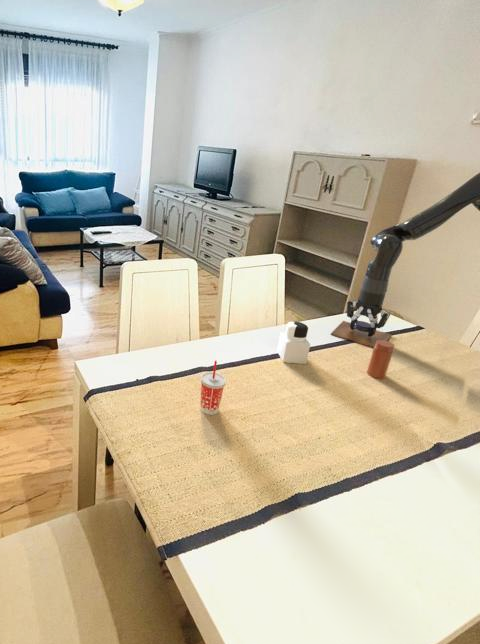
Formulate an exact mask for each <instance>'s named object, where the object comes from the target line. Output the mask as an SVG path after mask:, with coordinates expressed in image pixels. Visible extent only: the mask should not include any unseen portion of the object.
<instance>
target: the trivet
mask: <svg viewBox="0 0 480 644" xmlns="http://www.w3.org/2000/svg"><path fill="white" fill-rule="evenodd" d="M350 324H351V322H349V321H346V320H342V321H341V323H339V324H338V325H337V327H336V328H335V329H333V330H332V332H331V333H330V335H331V336H333V337H337V338H340V339H343V340H346V341H349V342H353V343H356V344H358V345H362V346H365V347H369V348H372V349H374V346H375V344H376V341H377V340H385V341H388V340H389V339H390V337H391V333H387V332H384V331H381V330H377V329H376V332H375V334H374V335H373V336H371V337H369V336H368V332H363V331H359V330H357V329H355V330H351V328H350Z"/></svg>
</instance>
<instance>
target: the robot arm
mask: <svg viewBox="0 0 480 644" xmlns="http://www.w3.org/2000/svg"><path fill="white" fill-rule="evenodd" d="M469 205H472V206H473V207H474V208H475V209H476V210H478V212H480V172H478V173H477V174H475V175H474V176H472V177H471V178H470V179H468V180H467V181H466V182H464V183H463V184H462V185H460V186H459V187H457V188H456V189H455V190H453V191H452V192H450V193H449V194H447V195H446V196H444V197H443V198H442V199H440V200H439V201H438V202H435V203H434V204H432V205H431V206H429V207H428V208H426V209H424V210H422V211H420V212H418V213H416V214H415V215H413V216H411V217H410V218H408V219H406V220H405V221H403V222H400V223H397V224H395V225H392V226H389V227H387V228H384V229H382V230H380V231H378V232H377V233H375V234H374V235H373V236H372V237H371V239H370V247H371V248H372V250H374V251H375V252H377V253H376V256H375V258H374V259H371V260H370V261H369V262H368V263H367V267H366V271H365V275H364V278H363V280H362V283H361V286H360V290H359V294H358V296H357V300H356V301H355V300H353V299H352V300H349V301H347V303H346V304H347V305H346V317H347V318H350V323H351V324H350V328H351V330H355V328H354V323H355V321H359V320H358V319H359V318H360V317H361V316H364V317H366V318H368V321H369V322H370V324H371V327H370V329H369V332H368V336H369V337H371V336H373V335H374V334H375V332H376V330H377V329H381V328H383V327H385V325H386V324H387V322H388V320H389V318H390V317H391V312H390V311H389V312H387V311H385V310H383V304H384V300H385V298H386V294H387V291H388V286H389V282H390V281H389V280H390V277H391V274H392V271H393V268H394V265H396V262H397V261H398V260H399V258H400V256H401V254H402V251H403V248H404V242H405V241H416V240H418V239H420V238H423V237H424V236H426V235H428V234H431V232H433V231H435V230H437V229H438V228H440V227H441V226H443V225H444V224H445V223H447V222H448V221H449V220H451V219H452V218H453V217H454V216H455V215H457V214H458V213H459V212H461V211H462V210H463V209H465V208H466V207H468V206H469ZM355 307H356V309H357V310H356V311H355ZM379 314H380V319H379V318H378V315H379ZM378 320H379V321H378Z"/></svg>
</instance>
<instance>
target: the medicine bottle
mask: <svg viewBox="0 0 480 644" xmlns="http://www.w3.org/2000/svg"><path fill="white" fill-rule="evenodd" d="M308 331H309V327H308V325H307V324H305V323H303V322H301V321H289V322H287V324H286V328H285V332H280V334H279V339H278V343H277V347H276V352H277V354H278V356H279V358H280V360H281V361H282V362H283V363H285V364H288V363H289V364H299V365H301V364H302V365H306V364H307V361H308V357H309V353H310V349H311V343H310V342H309V340H308V339H307V336H308Z"/></svg>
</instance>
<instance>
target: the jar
mask: <svg viewBox="0 0 480 644" xmlns="http://www.w3.org/2000/svg"><path fill="white" fill-rule="evenodd" d="M394 350H395V344H394V343H392V342H390V341H388V340H387V341H385V340H377V341H376V344H375V346H374V348H372V352H371V355H370V359H369V362H368V364H367V365H368V366H367V369H366V374H367V375H368V376H370V378H371V377H372V378H374V379H378V380H384V379H385V378H386V376H387V373H388V371H389V370H388V369H389V367H390V364H391V361H392V357H393V354H394Z"/></svg>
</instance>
